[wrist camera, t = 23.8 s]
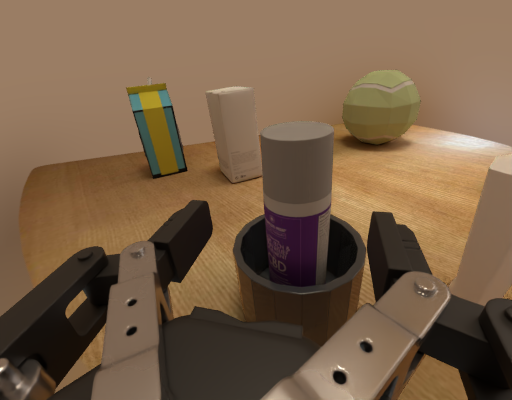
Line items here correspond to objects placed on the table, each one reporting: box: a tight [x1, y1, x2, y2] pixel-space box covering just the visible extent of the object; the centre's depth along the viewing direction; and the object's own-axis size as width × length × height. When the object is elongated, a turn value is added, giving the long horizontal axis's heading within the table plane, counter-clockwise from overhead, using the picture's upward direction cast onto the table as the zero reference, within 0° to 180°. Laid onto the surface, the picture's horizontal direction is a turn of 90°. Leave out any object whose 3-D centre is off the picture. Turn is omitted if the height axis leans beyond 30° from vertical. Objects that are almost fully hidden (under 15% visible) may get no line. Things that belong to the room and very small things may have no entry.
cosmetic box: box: [206, 86, 263, 183], centre depth 47 cm, size 8×7×16 cm
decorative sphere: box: [342, 70, 421, 145], centre depth 57 cm, size 15×15×15 cm
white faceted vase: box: [448, 154, 512, 306], centre depth 19 cm, size 5×4×15 cm
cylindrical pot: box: [233, 214, 366, 347], centre depth 22 cm, size 10×10×7 cm
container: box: [260, 121, 334, 287], centre depth 19 cm, size 5×5×15 cm
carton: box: [126, 77, 187, 179], centre depth 52 cm, size 7×8×18 cm
